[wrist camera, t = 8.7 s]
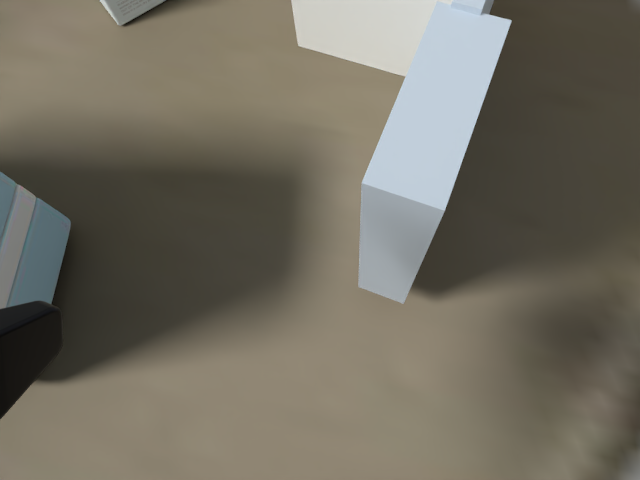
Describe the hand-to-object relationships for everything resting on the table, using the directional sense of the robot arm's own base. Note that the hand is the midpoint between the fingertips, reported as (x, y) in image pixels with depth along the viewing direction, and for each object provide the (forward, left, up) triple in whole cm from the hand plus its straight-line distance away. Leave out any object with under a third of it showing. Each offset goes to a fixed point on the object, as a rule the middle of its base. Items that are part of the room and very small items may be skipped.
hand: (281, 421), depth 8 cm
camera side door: (+8, -10, -12) cm, 18 cm away
